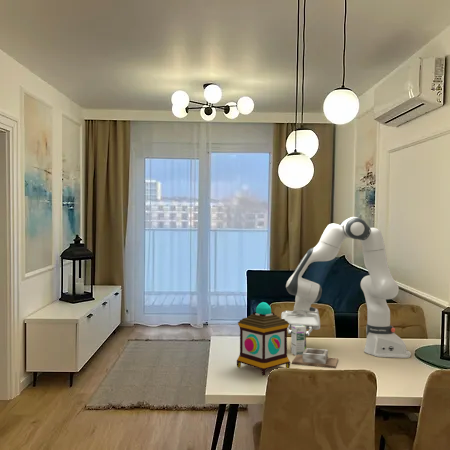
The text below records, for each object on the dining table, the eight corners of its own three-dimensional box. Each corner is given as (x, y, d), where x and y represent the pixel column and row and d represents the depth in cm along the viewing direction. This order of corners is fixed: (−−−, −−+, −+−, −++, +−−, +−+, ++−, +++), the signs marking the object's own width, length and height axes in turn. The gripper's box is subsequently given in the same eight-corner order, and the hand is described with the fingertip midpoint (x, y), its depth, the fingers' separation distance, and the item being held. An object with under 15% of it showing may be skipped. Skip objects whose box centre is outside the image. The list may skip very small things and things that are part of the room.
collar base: (338, 360, 230) (338, 350, 230) (335, 368, 218) (335, 357, 218) (296, 356, 236) (296, 346, 236) (291, 363, 224) (291, 353, 224)
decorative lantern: (262, 359, 231) (263, 297, 231) (294, 369, 216) (294, 302, 216) (232, 367, 218) (232, 301, 218) (263, 378, 203) (264, 307, 203)
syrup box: (295, 356, 238) (295, 326, 238) (291, 352, 243) (291, 324, 243) (306, 355, 239) (306, 326, 239) (301, 352, 245) (301, 323, 245)
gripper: (281, 306, 251) (277, 329, 242) (320, 309, 244) (318, 332, 235) (283, 314, 255) (278, 336, 246) (321, 316, 249) (319, 339, 239)
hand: (298, 334), depth 241 cm, fingers closed on syrup box, 8 cm apart
